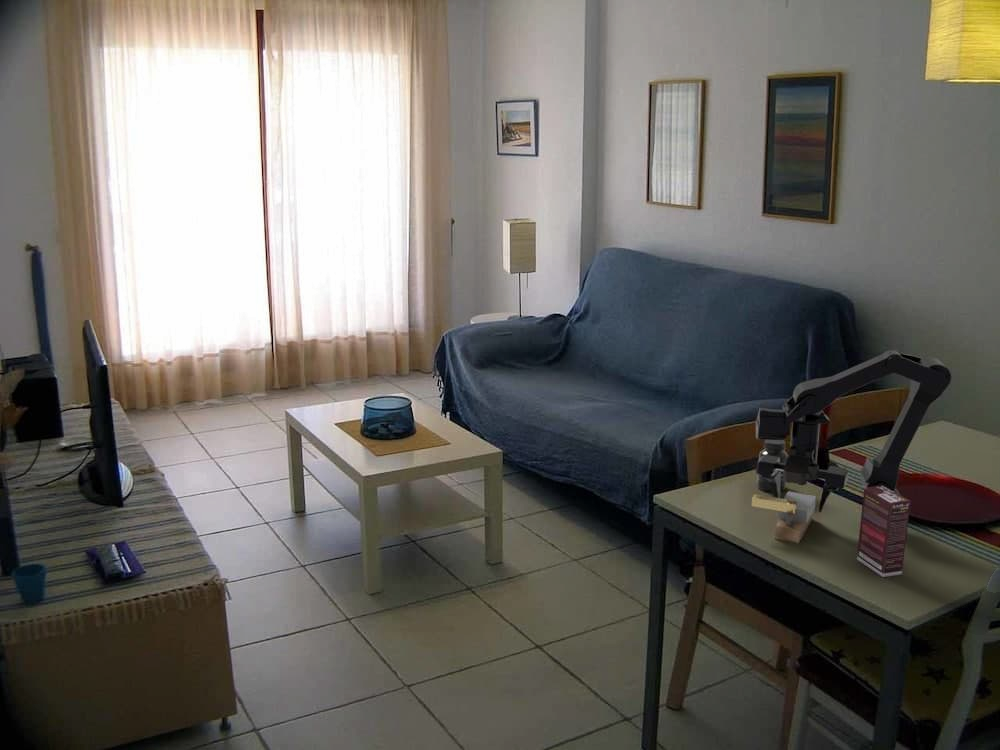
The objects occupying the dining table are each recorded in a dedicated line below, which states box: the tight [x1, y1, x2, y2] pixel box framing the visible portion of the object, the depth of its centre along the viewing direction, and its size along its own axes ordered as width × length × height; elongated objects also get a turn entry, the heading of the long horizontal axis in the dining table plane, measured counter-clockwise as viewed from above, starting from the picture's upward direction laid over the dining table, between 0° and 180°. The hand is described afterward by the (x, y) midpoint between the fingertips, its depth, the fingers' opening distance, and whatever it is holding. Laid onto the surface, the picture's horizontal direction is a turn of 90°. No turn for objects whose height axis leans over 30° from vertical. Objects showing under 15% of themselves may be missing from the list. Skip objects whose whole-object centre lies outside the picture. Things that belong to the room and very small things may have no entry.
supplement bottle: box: [756, 439, 789, 493], centre depth 232 cm, size 7×7×12 cm
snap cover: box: [777, 491, 817, 524], centre depth 211 cm, size 6×9×3 cm, turn 151°
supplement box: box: [856, 486, 912, 578], centre depth 192 cm, size 9×5×16 cm, turn 17°
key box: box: [774, 513, 814, 544], centre depth 210 cm, size 5×14×6 cm, turn 151°
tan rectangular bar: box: [751, 494, 797, 513], centre depth 206 cm, size 2×9×2 cm, turn 64°
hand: (798, 507), depth 212 cm, fingers open, 9 cm apart
